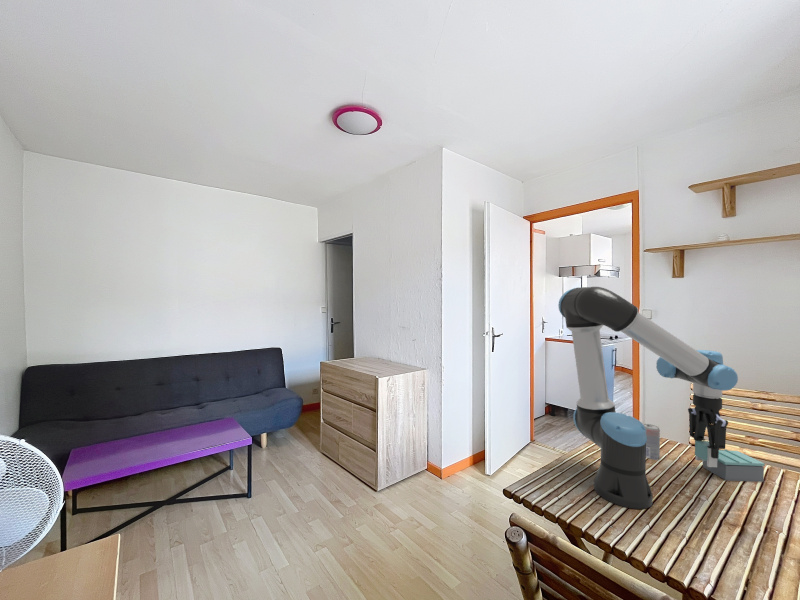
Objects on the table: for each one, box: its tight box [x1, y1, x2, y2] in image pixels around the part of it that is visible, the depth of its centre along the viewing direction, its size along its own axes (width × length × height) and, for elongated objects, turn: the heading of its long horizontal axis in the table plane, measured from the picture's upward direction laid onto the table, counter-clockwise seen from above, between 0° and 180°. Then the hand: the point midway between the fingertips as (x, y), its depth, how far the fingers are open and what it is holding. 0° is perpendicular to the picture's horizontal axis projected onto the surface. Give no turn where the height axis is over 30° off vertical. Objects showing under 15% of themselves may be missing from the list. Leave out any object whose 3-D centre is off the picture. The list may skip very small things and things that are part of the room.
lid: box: [694, 440, 765, 467], centre depth 117 cm, size 17×9×6 cm, turn 87°
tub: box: [702, 460, 765, 483], centre depth 117 cm, size 12×9×6 cm
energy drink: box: [643, 423, 661, 460], centre depth 129 cm, size 5×5×12 cm
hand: (706, 463), depth 117 cm, fingers closed on lid, 4 cm apart
